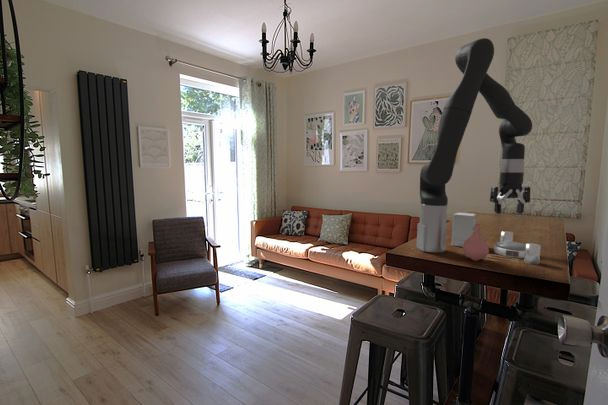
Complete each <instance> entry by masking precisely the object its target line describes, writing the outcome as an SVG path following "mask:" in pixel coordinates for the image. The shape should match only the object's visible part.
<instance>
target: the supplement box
mask: <svg viewBox="0 0 608 405" xmlns="http://www.w3.org/2000/svg"><path fill="white" fill-rule="evenodd" d="M452 216H453V217H452V226H451V227H452V229H451V246H456V247H461V248H463V245H464V242H465V241H466V240H467V239H468V238H470V237H471V235H472V234H473V232H474V227H475V224H477V214H476V213H468V212H467V213H466V212H456V213H454V214H453V215H452Z"/></svg>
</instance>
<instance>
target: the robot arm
mask: <svg viewBox="0 0 608 405" xmlns="http://www.w3.org/2000/svg"><path fill="white" fill-rule="evenodd" d="M494 56H495V46H494V43H493V41H492V40H491V39H489V38H487V37H482V38H478V39H476V40H474V41H471V42H469V43H467V44H464V45H463V46H461V47H460V48H459V49H457V52H456V54H455V57H454V58H455V59H454V60H455V65H456V66H457V68H458V69H459V71H460V72H461V73H462V74H463V76H462V78H461V79H460V81H459V84H458V85H457V86H456V88H455V89H454V90H453V91H452V93H451V95H449V97H448V98H447V100H446V102H445V105H444V106H443V110H442V112H441V116H440V119H439V122H438V131H437V141H436V146H435V150H434V152H433V155H432V158H431V160H430V161H428V162H426V163H424V164H423V166H422V167H421V170H420V175H419V196H420V208H419V209H420V212H419V213H420V214H419V222H418V223H417V226H416V227H417V228H416V234H417V235H416V249H418V250H420V251H421V252H427V253H444V252H446V240H447V239H446V238H447V218H448V216H447V215H448V205H449V204H448V203H449V202H448V201H449V200H448V199H449V198H448V196H447V193H446V185H447V183H449V181H450V180H451V178H452V176H453V173H454V172H453V171H454V168H455V163H456V158H457V155H458V150H459V148H460V145H461V144H462V140H463V138H464V135H465V132H466V130H467V126H468V124H469V121H470V119H471V115H472V113H473V110H474V106H475V103H476V100H477V97H478V96H479V95H478V94H481V96H482V97H483V99H484V100H485V102H486V103H487V105H488V106H489V108H490V110H491V111H492V113H493V115H494V116H495V117H496V118H497V119H500V120H503V121H501V123H500V124H499V128H498V135H499V139H500V144H501V148H502V154H501V155H502V156H501V162H500V171H499V172H500V173H499V184H500V185H499V186H491V187H490V196H489V202H491V203H492V204H493V203H494V209H493V210H494V212H495V214H497V215H501V213H502V203H503V202H504V201H505V200H506V199H514V200H515V201H517V204H516V205H517V206H516V214H519V215H522V214H523V213H524V212H525V211H524V209H525V204H527V203H530V202H531V187H530V186H523V184H524V177H525V176H524V174H525V155H526V154H525V151H526V149H525V148H526V147H525V145H524V144H523V143H522V142H521V143H520V142H517V140H516V138H517V137H525V136H526V135H529V134H530V133H531V131H532V130H533V122H532V119H531V117H530V116H529V115H528V114H526V112H525V111H523V109H521V108H520V107H519V106H517V104H516V103H515V101H514V99H513V98H512V96H511V95H510V92H509V91H508V90H507V89H506V88H505V87H504V86H503V85H502V84H501V83H499V82H498V81H497V80H495V79H494V78H493V77H492V76H490V75H489V74H488V71H489V68H490V66H491V64H492V62H493V60H494ZM521 192H522V193H521Z"/></svg>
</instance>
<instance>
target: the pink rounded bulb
mask: <svg viewBox="0 0 608 405" xmlns="http://www.w3.org/2000/svg"><path fill="white" fill-rule="evenodd" d="M480 226H481V225H480V224H478V223H476V224H475V227H474V232H473V234H472V235H471V237H470V238H468V239H467V240H466V241H465V242H464V245H463V247H462V251H463V255H464V256H465V257H467V258H469V259H470V260H471V261H475V262H476V261H477V262H478V261H479V260H483V259H486V258H487V256H488V254H489V252H490V250H489V244H488V243H487V241H486V240H485V239H484V238H483V236H482V234H481V232H480V229H481V227H480Z"/></svg>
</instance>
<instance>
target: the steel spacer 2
mask: <svg viewBox="0 0 608 405" xmlns="http://www.w3.org/2000/svg"><path fill="white" fill-rule="evenodd" d="M525 244H526V245H525V257H524V258H523V260H524V261H523V262H524V263H526V264H529V265H539V264H540V261H541V260H540V257H541V245H540V244H538V243H533V242H526V243H525Z"/></svg>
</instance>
